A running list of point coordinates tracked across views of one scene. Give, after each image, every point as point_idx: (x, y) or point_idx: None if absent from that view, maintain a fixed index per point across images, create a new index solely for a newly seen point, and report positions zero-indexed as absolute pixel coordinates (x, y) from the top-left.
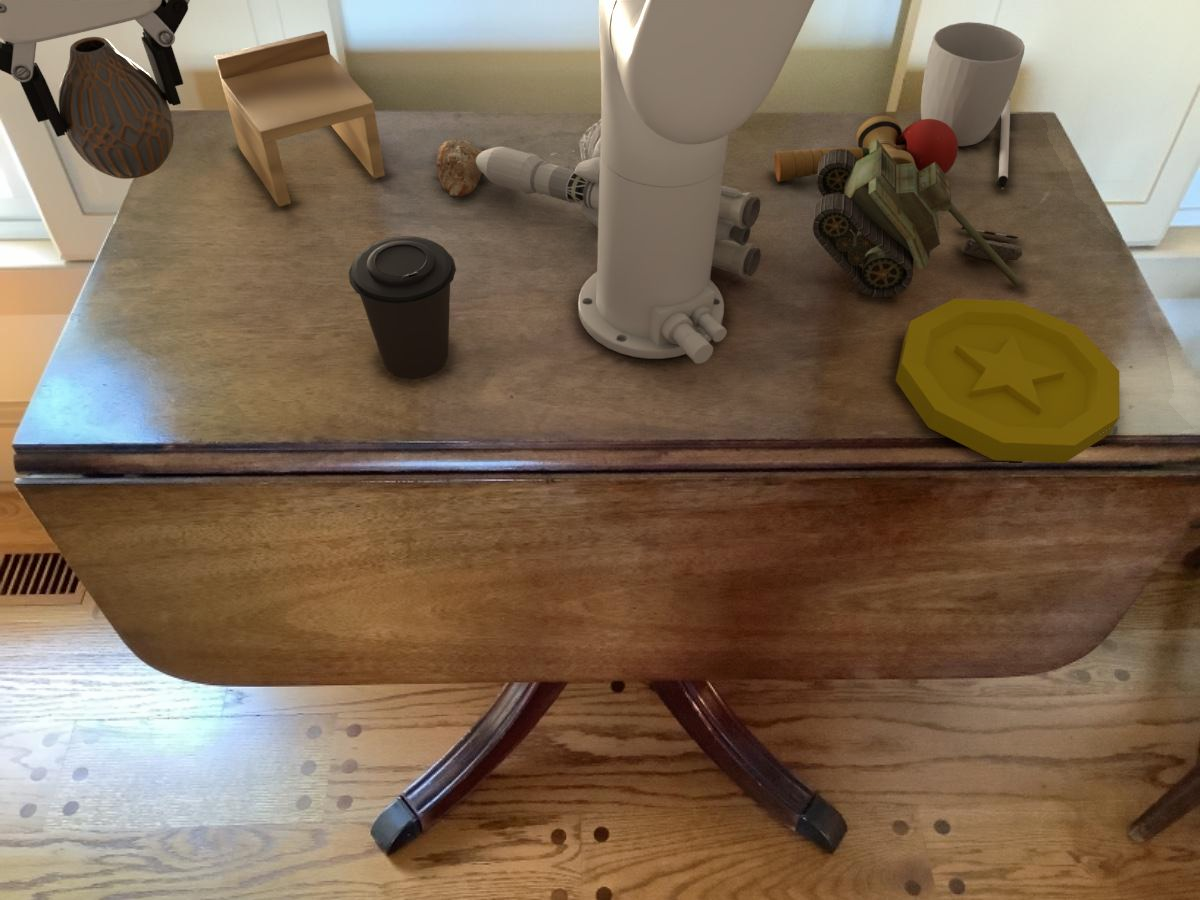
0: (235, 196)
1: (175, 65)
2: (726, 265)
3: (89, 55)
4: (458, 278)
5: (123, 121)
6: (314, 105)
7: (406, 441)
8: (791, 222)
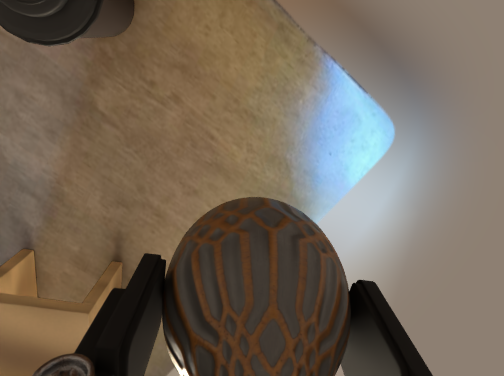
0: None
1: (100, 317)
2: None
3: None
4: (16, 78)
5: (274, 234)
6: (22, 323)
7: None
8: None
